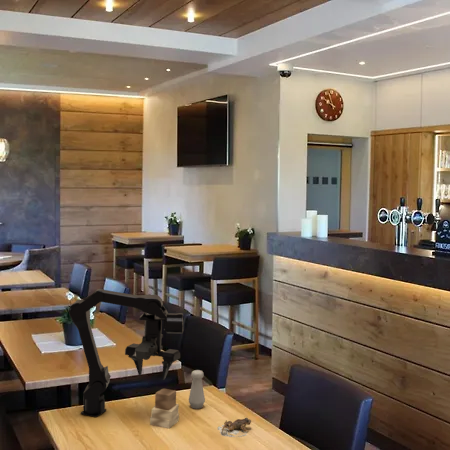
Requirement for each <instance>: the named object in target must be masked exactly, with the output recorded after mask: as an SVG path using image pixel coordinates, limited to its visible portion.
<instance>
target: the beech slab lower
mask: <svg viewBox="0 0 450 450" xmlns="http://www.w3.org/2000/svg"><path fill="white" fill-rule="evenodd" d="M179 416H180V412H178V414H177V415H176V416H175V417H174V419H173V420H172V421H170V420H163V419H155V418H151V416H150V422H149V425H150V426H153V427H159V428H163V429H170V428H172V427H173V426H175V425H176V424H177V423H178V422H179V420H180V417H179Z"/></svg>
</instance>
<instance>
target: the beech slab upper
mask: <svg viewBox="0 0 450 450" xmlns="http://www.w3.org/2000/svg"><path fill="white" fill-rule="evenodd" d="M179 407H180V405H179V403H176V406H174V407H173V408H171V409H170V410H169V411H168V410H163V409H159V408H155V405H154V406H153V407H152V408H151V415H150V417H151V418H155V419H163V420H170V421H172V420H173V419H174V417H175V416H176V415H177V414H178V413H179Z"/></svg>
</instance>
